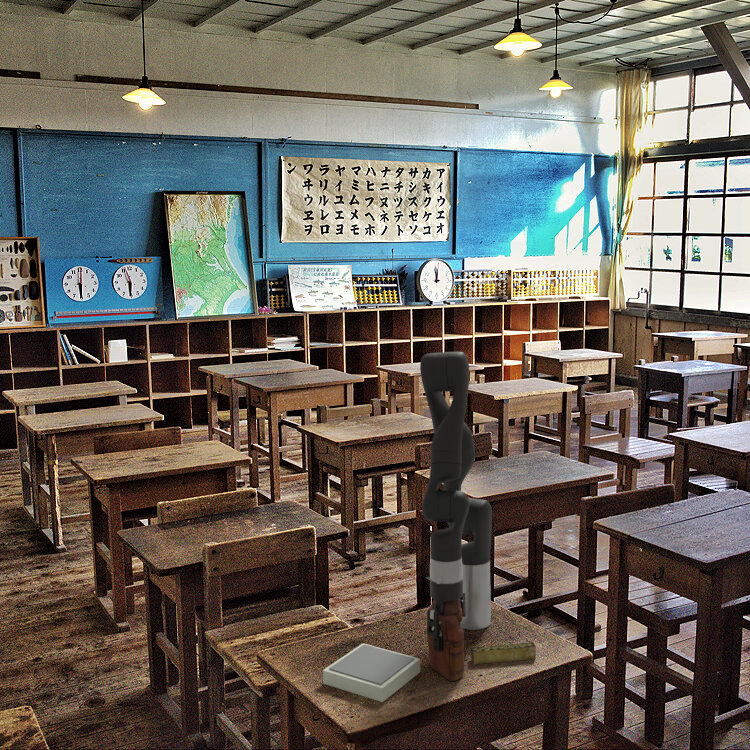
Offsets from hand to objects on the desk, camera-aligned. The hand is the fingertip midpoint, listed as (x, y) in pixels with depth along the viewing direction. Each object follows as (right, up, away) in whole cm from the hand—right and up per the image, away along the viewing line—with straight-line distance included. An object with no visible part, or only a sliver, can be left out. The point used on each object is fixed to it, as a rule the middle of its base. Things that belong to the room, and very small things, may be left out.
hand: (447, 644), depth 201 cm
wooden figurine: (0, -7, +1) cm, 7 cm away
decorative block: (+14, -6, +6) cm, 16 cm away
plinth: (-17, -7, -1) cm, 19 cm away
